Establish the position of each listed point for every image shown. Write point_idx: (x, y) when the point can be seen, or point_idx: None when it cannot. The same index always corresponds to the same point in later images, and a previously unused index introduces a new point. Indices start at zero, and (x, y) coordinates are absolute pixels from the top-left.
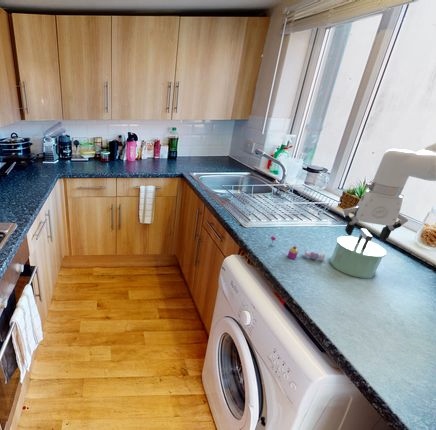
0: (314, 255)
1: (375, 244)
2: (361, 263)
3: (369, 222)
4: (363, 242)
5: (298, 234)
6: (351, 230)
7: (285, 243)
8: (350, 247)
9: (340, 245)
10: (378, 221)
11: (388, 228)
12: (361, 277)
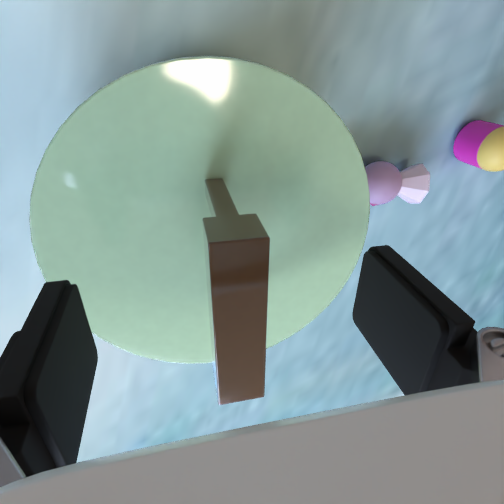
0: (392, 167)
1: (100, 322)
2: None
3: (409, 399)
4: (182, 311)
5: (350, 370)
6: (414, 275)
7: (436, 268)
8: (310, 167)
9: (364, 180)
10: (282, 495)
11: (10, 450)
12: None
